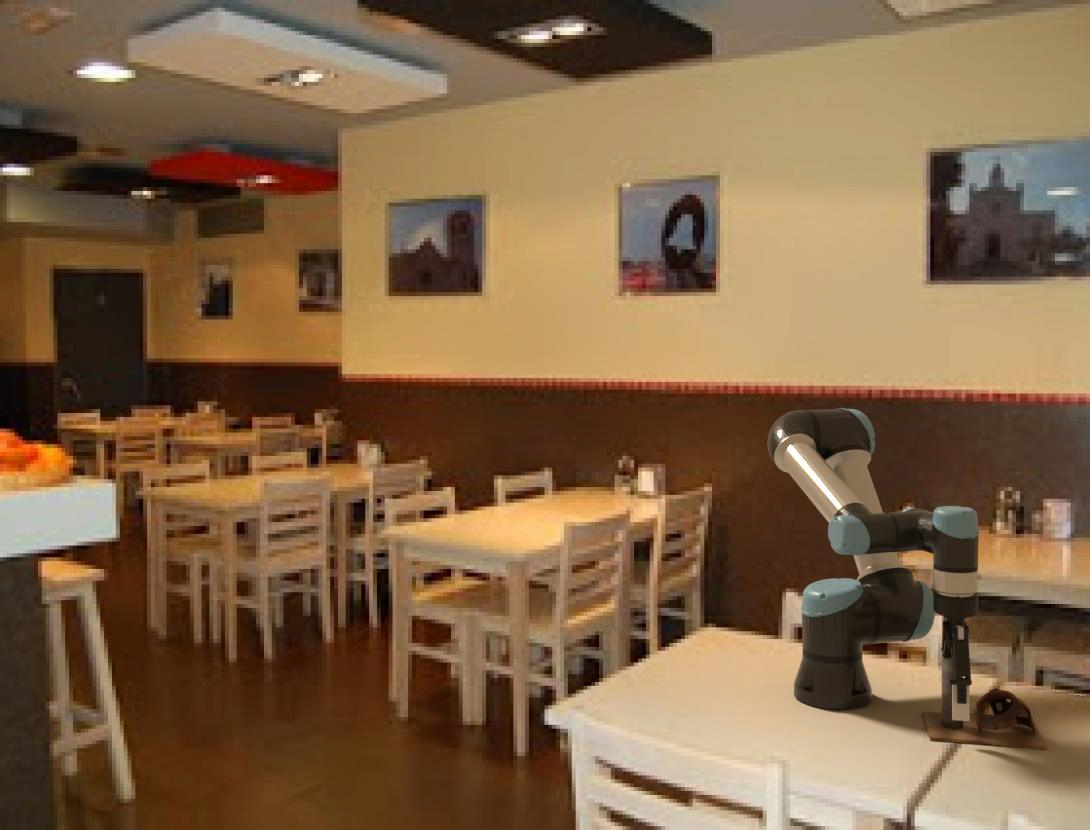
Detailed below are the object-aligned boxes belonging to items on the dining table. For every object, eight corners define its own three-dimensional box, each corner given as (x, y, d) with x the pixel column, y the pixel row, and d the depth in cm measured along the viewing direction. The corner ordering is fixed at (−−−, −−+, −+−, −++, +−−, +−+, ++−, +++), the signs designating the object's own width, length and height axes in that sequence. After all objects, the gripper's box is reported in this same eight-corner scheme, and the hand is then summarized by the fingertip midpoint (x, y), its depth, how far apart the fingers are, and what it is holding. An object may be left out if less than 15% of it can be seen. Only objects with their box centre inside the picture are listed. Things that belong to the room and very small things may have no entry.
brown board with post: (930, 740, 173) (929, 670, 172) (922, 714, 185) (922, 649, 184) (1047, 749, 167) (1047, 678, 167) (1031, 722, 180) (1031, 655, 179)
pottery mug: (1049, 743, 170) (1031, 707, 168) (997, 763, 172) (979, 728, 170) (1022, 703, 181) (1005, 668, 179) (973, 722, 183) (956, 688, 181)
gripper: (989, 610, 163) (989, 733, 164) (967, 577, 187) (967, 685, 188) (941, 608, 165) (941, 730, 166) (926, 576, 189) (926, 683, 190)
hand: (955, 706), depth 177 cm, fingers open, 13 cm apart
